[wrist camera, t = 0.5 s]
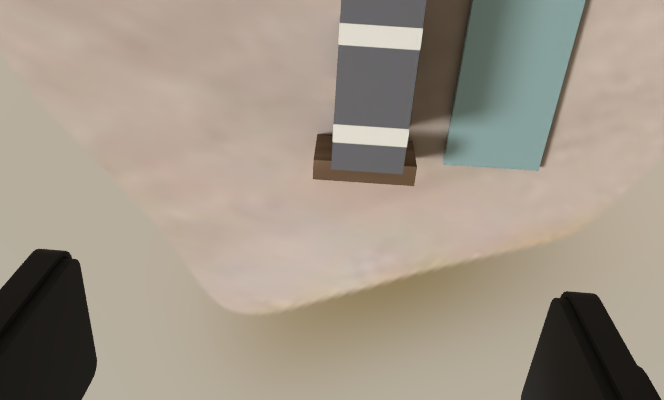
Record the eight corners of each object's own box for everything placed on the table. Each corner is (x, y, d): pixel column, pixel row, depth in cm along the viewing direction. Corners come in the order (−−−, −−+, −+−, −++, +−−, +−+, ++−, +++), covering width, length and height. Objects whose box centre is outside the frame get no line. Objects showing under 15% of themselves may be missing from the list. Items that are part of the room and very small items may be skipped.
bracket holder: (327, -83, 35) (323, -75, 32) (443, -76, 35) (451, -66, 32) (316, 152, 44) (312, 179, 40) (409, 159, 44) (414, 186, 40)
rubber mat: (484, -73, 35) (485, -72, 35) (600, -65, 35) (603, -64, 35) (443, 161, 44) (444, 164, 43) (536, 167, 44) (538, 170, 43)
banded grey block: (345, -38, 37) (341, -14, 31) (417, -33, 37) (428, -8, 31) (335, 122, 42) (330, 169, 36) (397, 127, 42) (403, 174, 36)
